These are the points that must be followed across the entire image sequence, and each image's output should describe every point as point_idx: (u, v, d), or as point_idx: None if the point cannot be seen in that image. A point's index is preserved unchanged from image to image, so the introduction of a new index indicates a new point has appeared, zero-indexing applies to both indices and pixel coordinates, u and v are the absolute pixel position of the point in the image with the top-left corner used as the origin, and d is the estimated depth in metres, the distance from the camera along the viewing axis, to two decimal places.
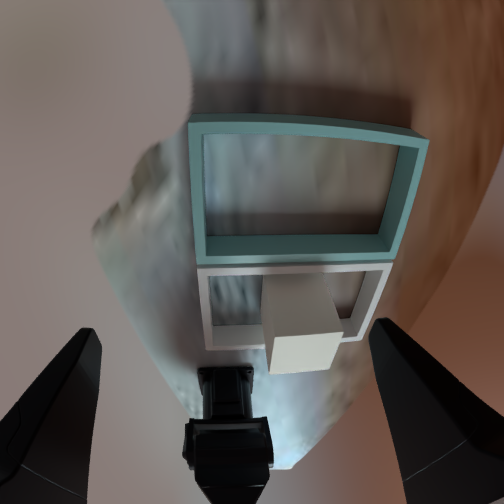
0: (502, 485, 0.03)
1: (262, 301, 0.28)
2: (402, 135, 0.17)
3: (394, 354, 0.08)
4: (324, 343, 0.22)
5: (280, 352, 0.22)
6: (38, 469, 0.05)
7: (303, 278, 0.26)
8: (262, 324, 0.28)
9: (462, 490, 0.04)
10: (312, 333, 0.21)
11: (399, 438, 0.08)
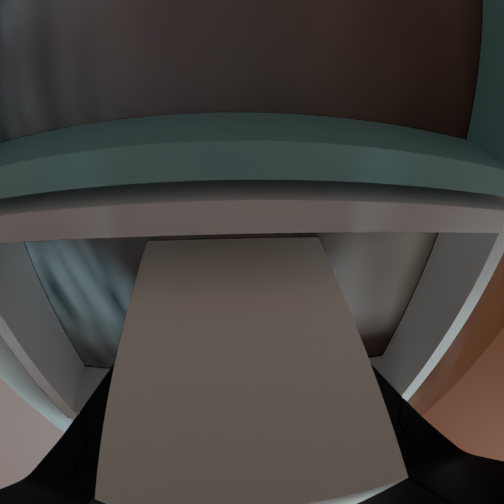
0: None
1: None
2: None
3: None
4: None
5: None
6: None
7: (262, 262, 0.08)
8: None
9: None
10: (266, 502, 0.04)
11: None
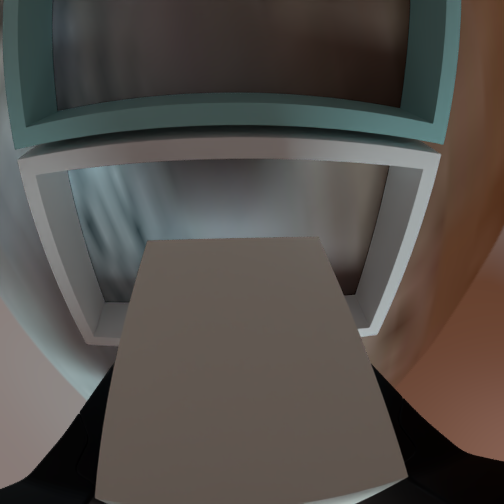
0: None
1: None
2: None
3: None
4: None
5: None
6: None
7: (262, 262, 0.08)
8: None
9: None
10: (267, 501, 0.04)
11: None
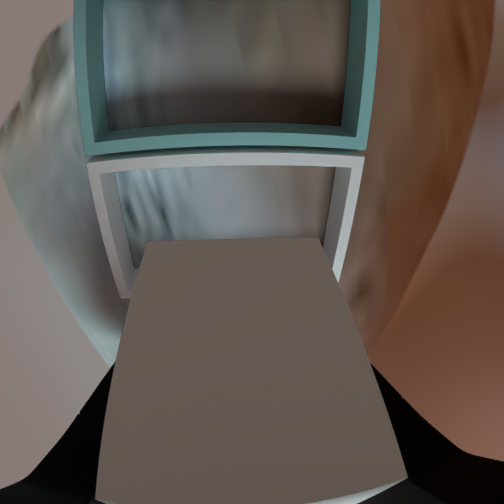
0: None
1: None
2: None
3: None
4: None
5: None
6: None
7: (261, 263, 0.08)
8: None
9: None
10: (266, 502, 0.04)
11: None
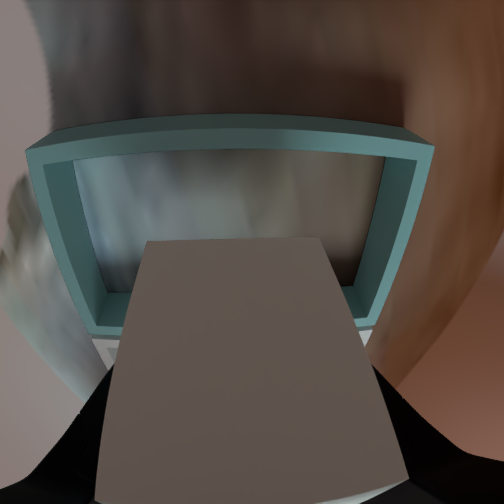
0: None
1: None
2: (386, 138, 0.10)
3: None
4: None
5: None
6: None
7: (262, 263, 0.08)
8: None
9: None
10: (267, 503, 0.03)
11: None
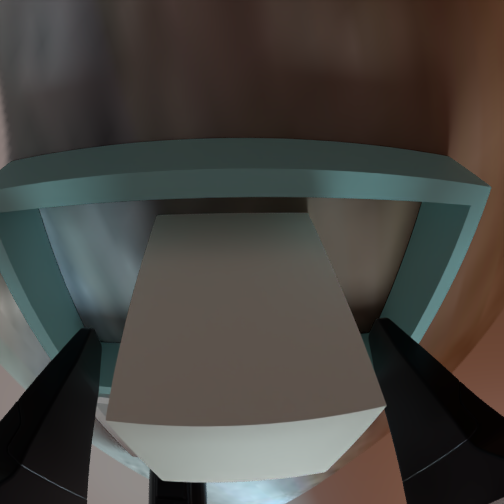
0: (502, 485, 0.03)
1: None
2: (440, 180, 0.07)
3: (394, 354, 0.08)
4: (312, 440, 0.06)
5: (159, 455, 0.06)
6: (39, 469, 0.05)
7: (257, 231, 0.09)
8: None
9: (462, 490, 0.04)
10: (259, 418, 0.05)
11: (399, 438, 0.08)
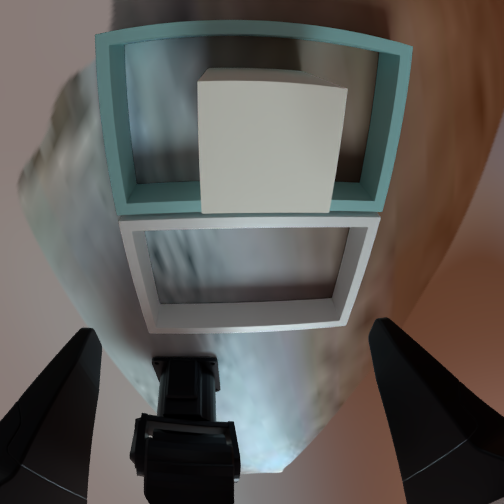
0: (502, 485, 0.03)
1: None
2: (374, 37, 0.12)
3: (394, 354, 0.08)
4: (311, 119, 0.10)
5: (215, 134, 0.10)
6: (39, 469, 0.05)
7: (271, 69, 0.14)
8: None
9: (462, 490, 0.04)
10: (279, 81, 0.09)
11: (399, 438, 0.08)
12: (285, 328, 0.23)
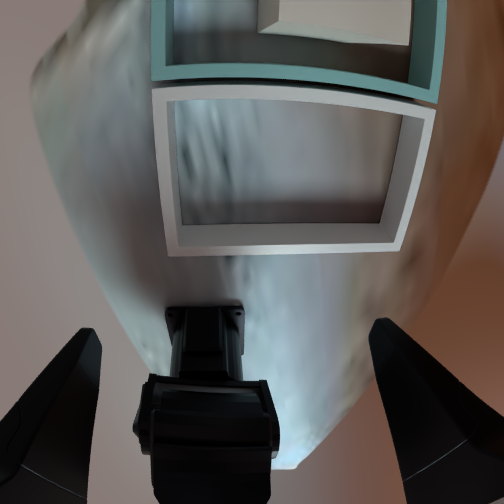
0: (502, 485, 0.03)
1: None
2: None
3: (394, 354, 0.08)
4: None
5: None
6: (39, 469, 0.05)
7: None
8: (261, 26, 0.12)
9: (462, 490, 0.04)
10: None
11: (399, 438, 0.08)
12: (335, 249, 0.20)
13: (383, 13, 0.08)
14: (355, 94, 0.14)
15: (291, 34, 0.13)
